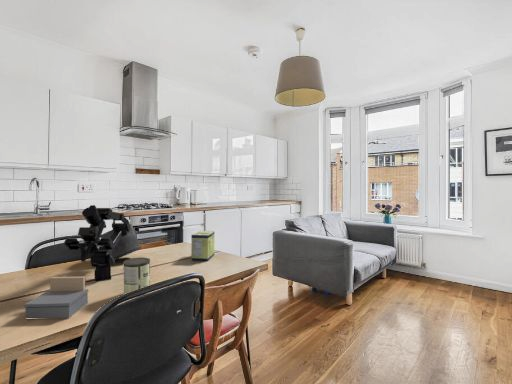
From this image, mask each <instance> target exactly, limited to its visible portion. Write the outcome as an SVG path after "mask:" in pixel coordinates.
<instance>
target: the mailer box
mask: <svg viewBox="0 0 512 384" xmlns="http://www.w3.org/2000/svg"><path fill="white" fill-rule="evenodd" d="M88 293H89V292H88ZM88 293H86V294H85V295H84V296H82V297H81V298H80V299H78V300H77V301H75V302H74V303H73V304H71V305H70V306H55V307H24V308H25V319H26V318H62V319H70V318H71V317H72V315H73V314H74V315H75V314H76V313H77V312H79V311H80V310H82V308H83V306H84V307H85V306H86V305H87V304H89V303H88V302H89V301H88V299H89V297H88ZM78 310H79V311H78ZM74 315H73V316H74ZM69 317H70V318H69Z"/></svg>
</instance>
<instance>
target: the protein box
mask: <svg viewBox="0 0 512 384" xmlns="http://www.w3.org/2000/svg"><path fill="white" fill-rule="evenodd" d="M190 242H191V247H190V249H191V250H190V251H191V257H190V258H191V261H193V262H195V261H197V262H198V261H200V262H202V261H203V262H209V261H210V260H211V259H212V258H213V257H214V256H215V231H211V230H206V231H205V230H198V231H197V232H194V233H193V234H191V241H190Z"/></svg>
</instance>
